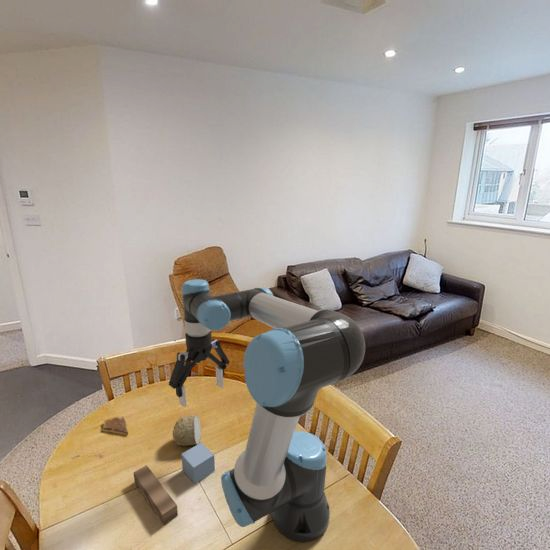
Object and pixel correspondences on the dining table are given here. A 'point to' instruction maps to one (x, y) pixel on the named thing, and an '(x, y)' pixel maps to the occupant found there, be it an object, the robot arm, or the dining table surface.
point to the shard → (115, 425)
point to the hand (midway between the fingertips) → (202, 395)
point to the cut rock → (187, 430)
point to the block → (198, 462)
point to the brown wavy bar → (155, 494)
